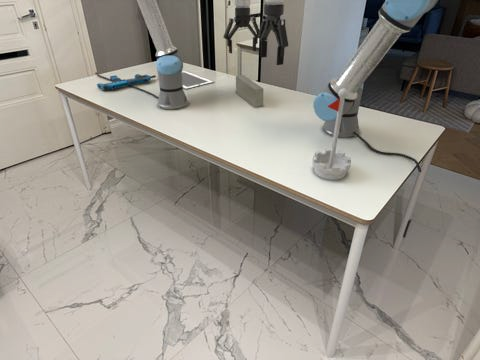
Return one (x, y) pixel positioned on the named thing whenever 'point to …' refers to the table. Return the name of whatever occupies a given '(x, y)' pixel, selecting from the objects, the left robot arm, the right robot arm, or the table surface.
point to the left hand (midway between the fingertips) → (242, 51)
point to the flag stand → (333, 149)
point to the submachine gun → (124, 82)
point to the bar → (249, 91)
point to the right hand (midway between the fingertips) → (271, 60)
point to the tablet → (193, 80)
